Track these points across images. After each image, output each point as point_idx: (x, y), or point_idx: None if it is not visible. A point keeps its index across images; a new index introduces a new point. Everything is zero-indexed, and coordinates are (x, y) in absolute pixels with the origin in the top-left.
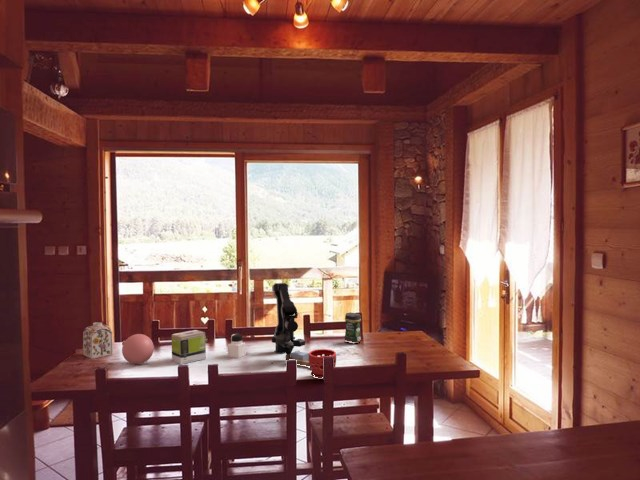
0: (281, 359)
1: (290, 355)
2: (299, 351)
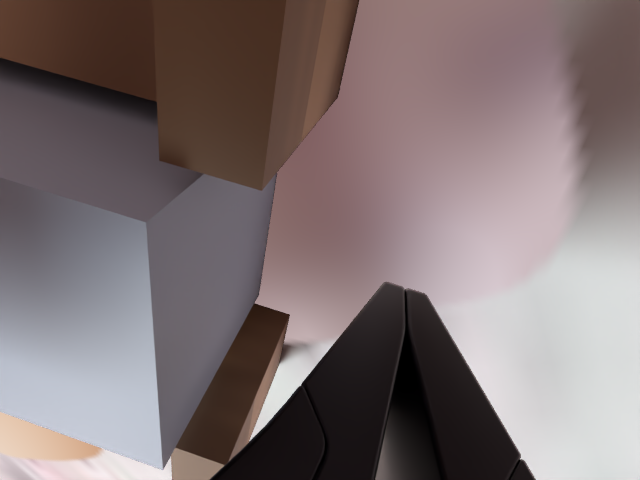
0: (588, 285)
1: (196, 172)
2: (57, 429)
